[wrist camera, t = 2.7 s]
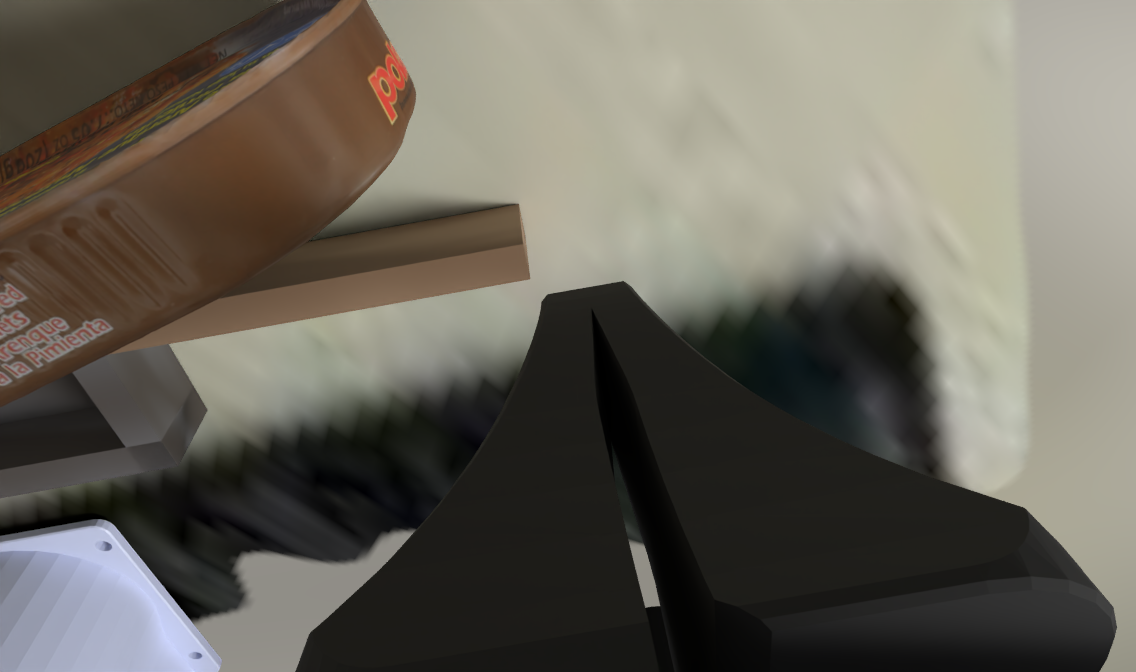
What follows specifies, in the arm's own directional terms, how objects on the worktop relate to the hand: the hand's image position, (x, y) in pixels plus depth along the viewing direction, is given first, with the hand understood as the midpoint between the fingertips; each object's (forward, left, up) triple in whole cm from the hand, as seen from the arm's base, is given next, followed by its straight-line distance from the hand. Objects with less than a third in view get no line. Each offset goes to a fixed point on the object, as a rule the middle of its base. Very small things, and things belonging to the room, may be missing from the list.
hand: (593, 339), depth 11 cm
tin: (+2, +10, -9) cm, 13 cm away
